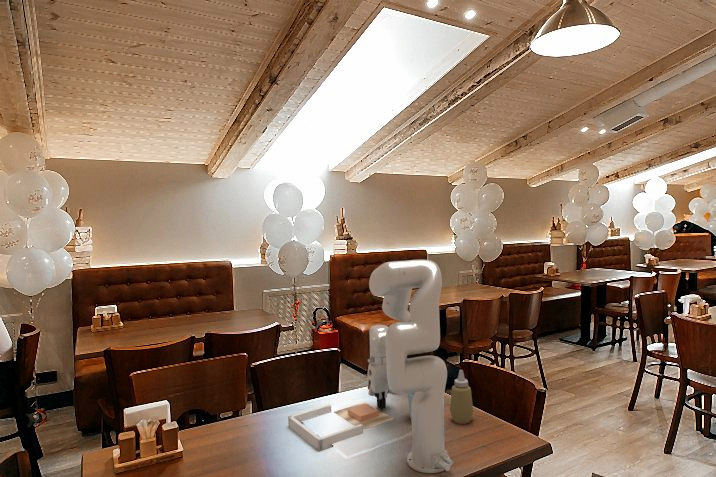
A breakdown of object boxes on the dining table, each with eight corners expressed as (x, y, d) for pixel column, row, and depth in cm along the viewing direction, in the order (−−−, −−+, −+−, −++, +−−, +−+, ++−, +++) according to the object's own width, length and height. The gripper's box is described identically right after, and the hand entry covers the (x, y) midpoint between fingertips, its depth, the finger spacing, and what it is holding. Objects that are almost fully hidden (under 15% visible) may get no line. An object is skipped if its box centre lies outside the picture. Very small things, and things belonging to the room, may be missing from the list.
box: (363, 435, 158) (363, 425, 158) (319, 451, 149) (319, 440, 148) (329, 413, 176) (329, 404, 175) (288, 426, 166) (288, 416, 166)
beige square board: (394, 421, 168) (394, 418, 168) (361, 432, 160) (361, 430, 160) (364, 404, 183) (364, 402, 182) (333, 414, 175) (333, 411, 174)
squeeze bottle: (475, 425, 163) (475, 374, 162) (452, 426, 163) (451, 374, 162) (470, 415, 171) (470, 366, 170) (448, 415, 171) (447, 366, 170)
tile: (378, 416, 170) (378, 410, 170) (360, 422, 166) (360, 416, 165) (365, 408, 177) (365, 403, 177) (347, 414, 172) (347, 409, 172)
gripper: (369, 366, 167) (371, 417, 168) (402, 357, 176) (403, 406, 177) (357, 360, 173) (359, 409, 175) (390, 352, 182) (391, 399, 183)
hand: (381, 407), depth 176 cm, fingers closed
